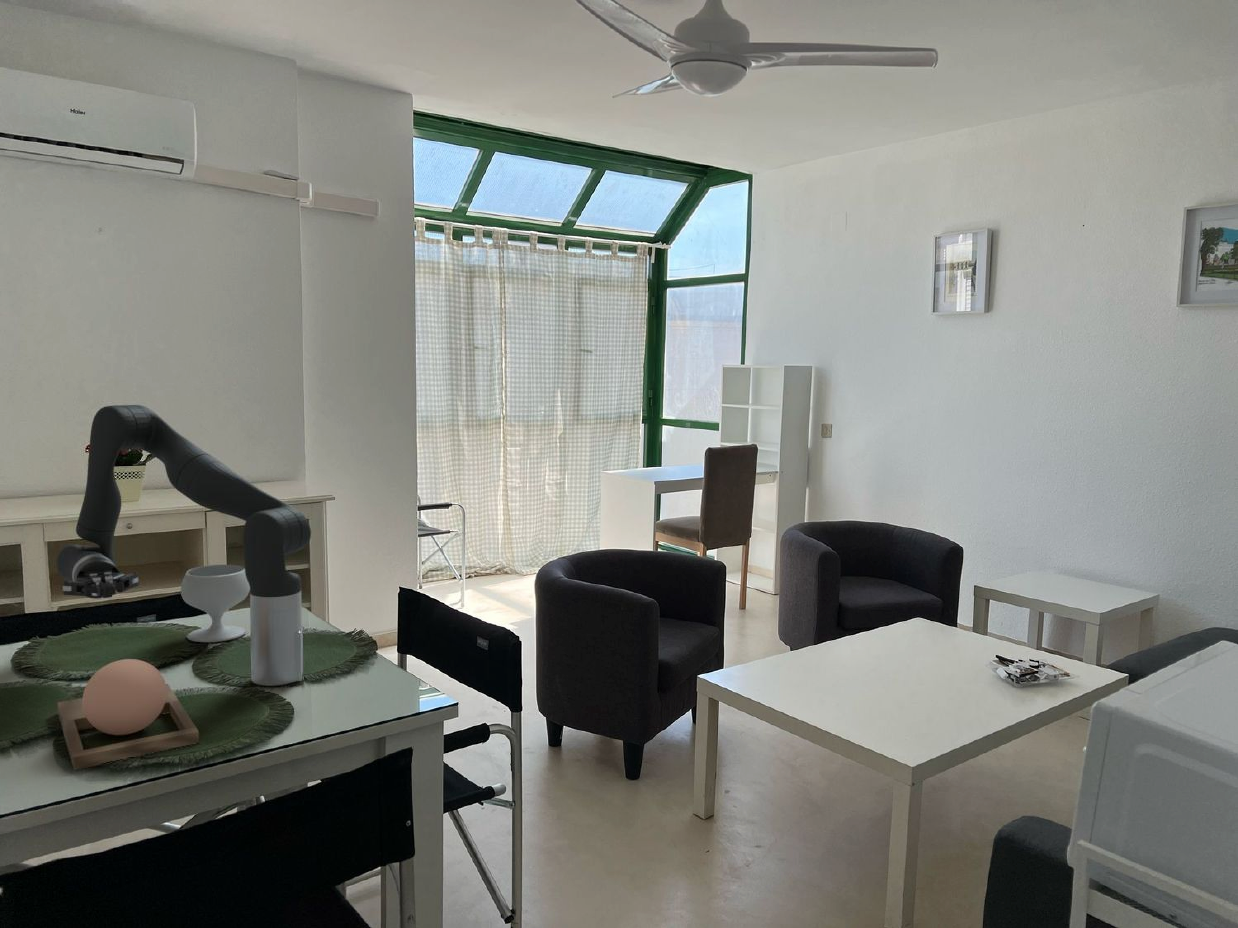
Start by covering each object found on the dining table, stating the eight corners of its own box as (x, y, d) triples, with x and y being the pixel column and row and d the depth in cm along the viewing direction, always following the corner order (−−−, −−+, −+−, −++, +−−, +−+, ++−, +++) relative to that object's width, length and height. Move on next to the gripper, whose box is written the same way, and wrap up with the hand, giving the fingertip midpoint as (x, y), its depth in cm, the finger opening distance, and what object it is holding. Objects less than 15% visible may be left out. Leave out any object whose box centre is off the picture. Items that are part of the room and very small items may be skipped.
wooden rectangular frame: (167, 693, 159) (167, 683, 159) (199, 743, 138) (198, 731, 138) (58, 713, 149) (57, 702, 149) (73, 770, 128) (73, 757, 128)
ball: (171, 649, 149) (184, 691, 140) (143, 707, 151) (155, 752, 142) (95, 640, 141) (104, 684, 132) (66, 701, 143) (73, 749, 134)
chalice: (212, 624, 203) (211, 561, 202) (264, 630, 199) (263, 566, 198) (167, 641, 190) (165, 574, 188) (221, 648, 186) (219, 579, 185)
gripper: (54, 560, 166) (63, 576, 152) (132, 552, 174) (147, 567, 160) (56, 599, 167) (65, 618, 153) (134, 589, 175) (149, 606, 161)
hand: (107, 592), depth 157 cm, fingers closed
